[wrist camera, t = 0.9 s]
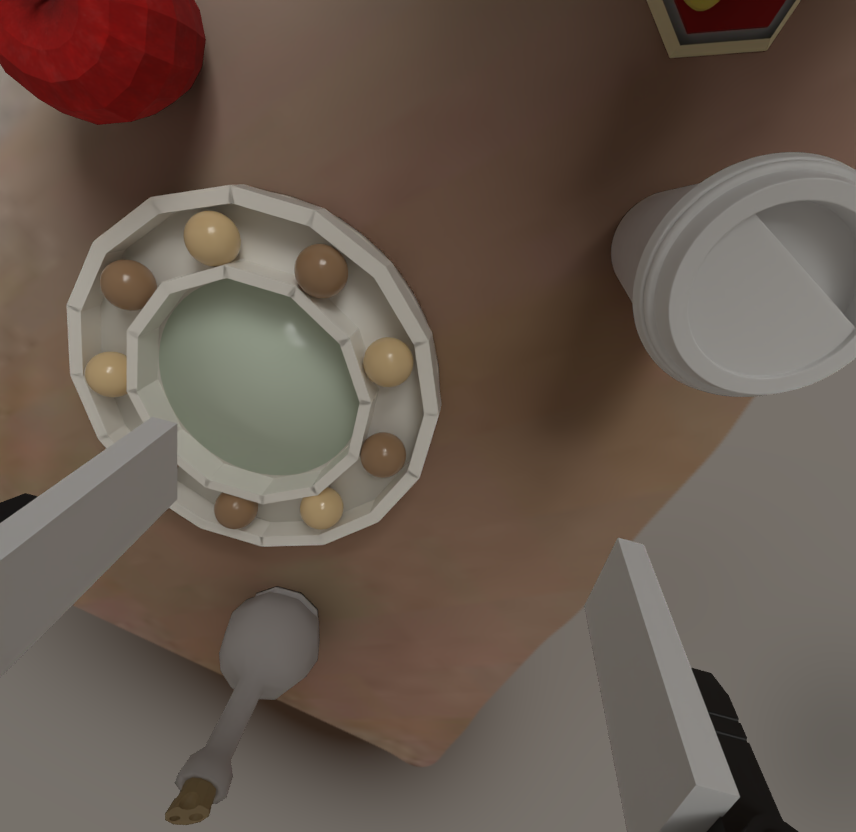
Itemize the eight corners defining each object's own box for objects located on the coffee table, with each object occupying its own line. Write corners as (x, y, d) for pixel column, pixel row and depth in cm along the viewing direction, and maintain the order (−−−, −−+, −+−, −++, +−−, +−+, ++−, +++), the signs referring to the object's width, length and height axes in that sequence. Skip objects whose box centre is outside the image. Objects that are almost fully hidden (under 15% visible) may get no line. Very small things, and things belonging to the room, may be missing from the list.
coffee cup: (763, 283, 33) (951, 358, 19) (614, 343, 35) (685, 446, 22) (724, 129, 30) (915, 89, 16) (563, 209, 32) (610, 232, 19)
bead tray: (93, 137, 34) (39, 132, 30) (487, 254, 34) (485, 264, 30) (100, 472, 46) (62, 500, 42) (393, 559, 46) (383, 596, 42)
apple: (87, -92, 29) (-124, -230, 19) (250, -33, 29) (124, -140, 19) (85, 104, 33) (-88, 74, 23) (227, 154, 33) (115, 145, 24)
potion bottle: (244, 569, 48) (116, 766, 32) (336, 594, 48) (254, 804, 32) (238, 633, 52) (121, 839, 36) (323, 656, 52) (243, 873, 36)
